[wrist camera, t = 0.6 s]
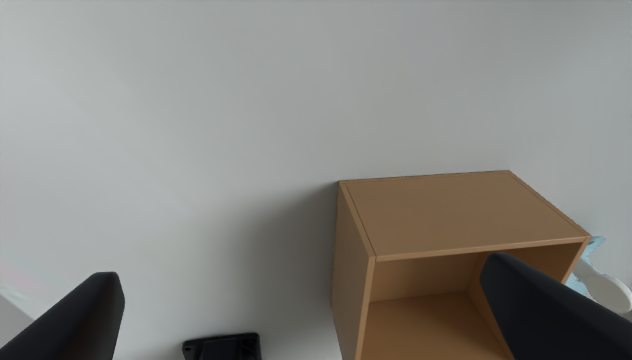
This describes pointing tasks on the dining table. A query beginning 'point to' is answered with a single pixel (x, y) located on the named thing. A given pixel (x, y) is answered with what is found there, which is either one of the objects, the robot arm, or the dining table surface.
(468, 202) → the carton
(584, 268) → the pacifier
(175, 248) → the dining table surface
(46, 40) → the dining table surface
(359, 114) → the dining table surface
